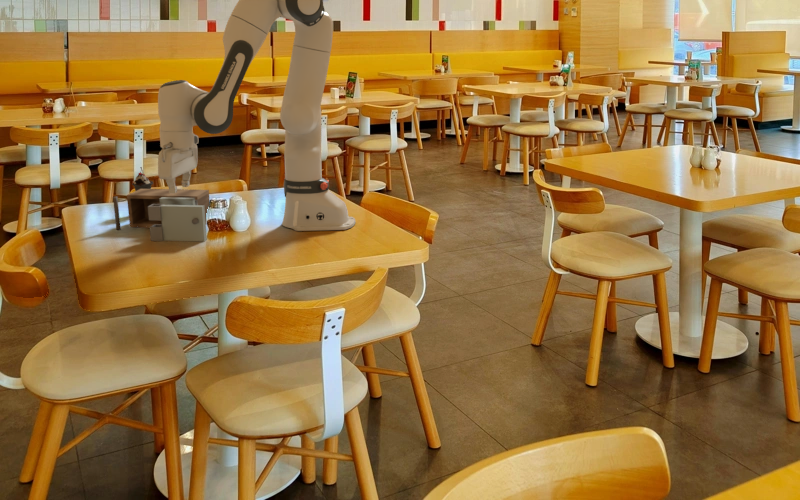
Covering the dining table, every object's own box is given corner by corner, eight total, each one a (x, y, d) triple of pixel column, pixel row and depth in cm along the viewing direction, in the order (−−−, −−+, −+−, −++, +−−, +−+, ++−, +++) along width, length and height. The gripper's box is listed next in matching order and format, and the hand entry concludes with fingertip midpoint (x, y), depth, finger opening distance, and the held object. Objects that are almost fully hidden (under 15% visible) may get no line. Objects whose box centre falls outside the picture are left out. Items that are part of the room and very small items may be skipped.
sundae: (148, 210, 261) (143, 165, 257) (159, 212, 257) (155, 167, 253) (130, 213, 256) (126, 168, 252) (142, 216, 252) (137, 170, 248)
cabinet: (211, 221, 246) (208, 189, 243) (193, 233, 231) (190, 200, 228) (135, 219, 248) (132, 188, 245) (113, 231, 234) (109, 198, 231)
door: (207, 238, 225) (205, 204, 222) (202, 242, 221) (200, 207, 218) (155, 237, 226) (152, 203, 223) (150, 241, 222) (147, 206, 220)
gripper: (173, 146, 205) (176, 197, 209) (200, 136, 225) (202, 183, 229) (150, 145, 206) (153, 196, 210) (179, 135, 226) (182, 182, 229)
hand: (179, 189), depth 219 cm, fingers open, 8 cm apart
